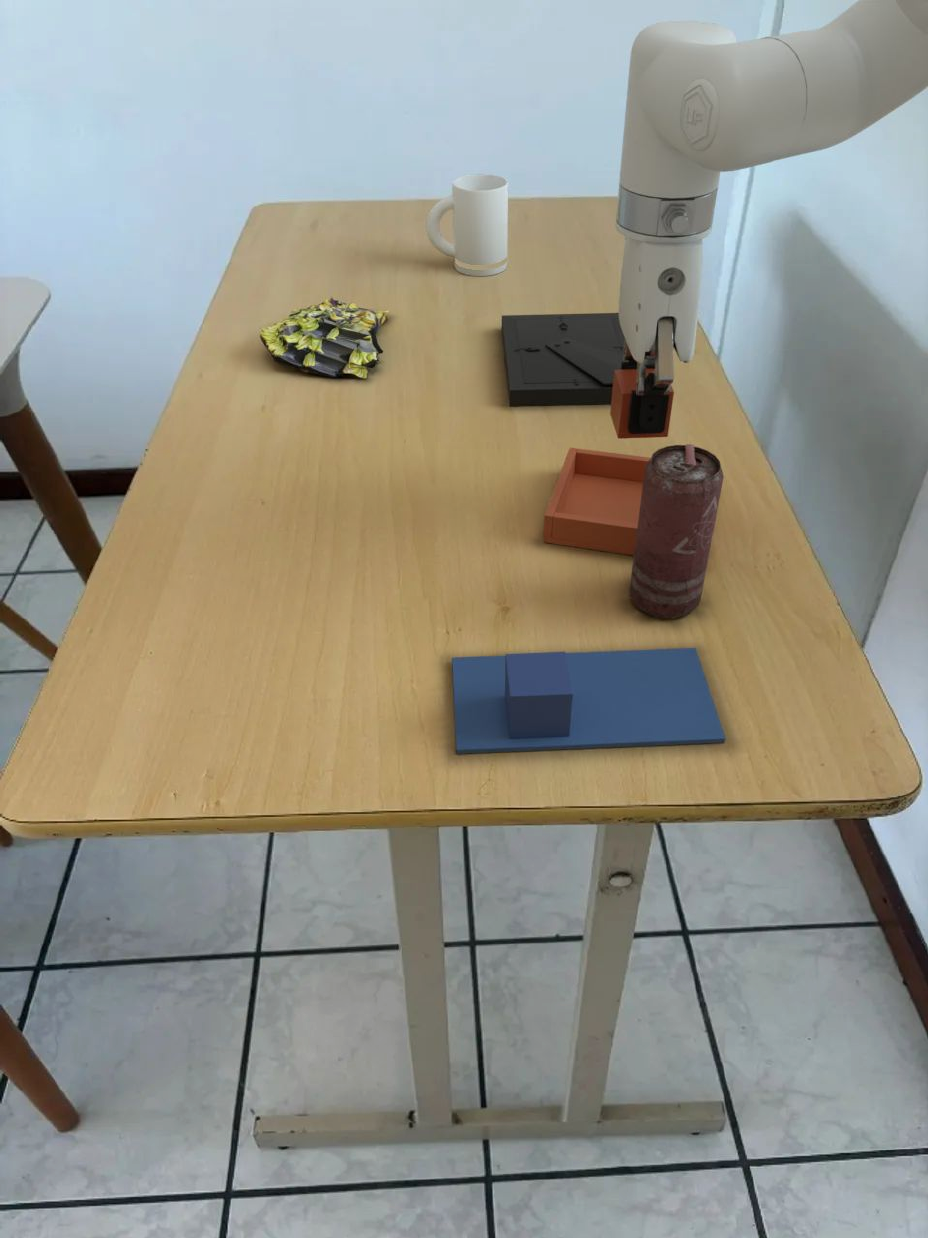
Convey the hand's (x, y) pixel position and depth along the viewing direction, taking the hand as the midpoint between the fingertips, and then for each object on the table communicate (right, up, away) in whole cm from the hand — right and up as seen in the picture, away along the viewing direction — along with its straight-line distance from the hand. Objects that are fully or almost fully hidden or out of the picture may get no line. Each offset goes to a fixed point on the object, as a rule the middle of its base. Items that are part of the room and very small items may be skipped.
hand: (640, 415), depth 87 cm
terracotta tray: (0, -8, +7) cm, 11 cm away
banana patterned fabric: (-32, +17, +38) cm, 53 cm away
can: (+2, -17, -2) cm, 17 cm away
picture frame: (-3, +13, +32) cm, 35 cm away
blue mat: (-7, -25, -12) cm, 28 cm away
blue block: (-10, -26, -14) cm, 31 cm away
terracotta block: (0, -1, +1) cm, 1 cm away
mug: (-15, +34, +58) cm, 69 cm away
